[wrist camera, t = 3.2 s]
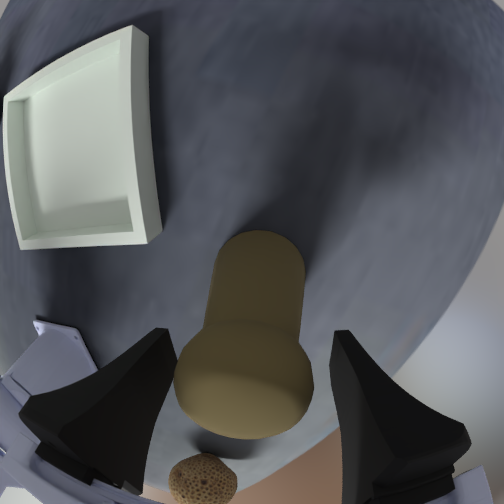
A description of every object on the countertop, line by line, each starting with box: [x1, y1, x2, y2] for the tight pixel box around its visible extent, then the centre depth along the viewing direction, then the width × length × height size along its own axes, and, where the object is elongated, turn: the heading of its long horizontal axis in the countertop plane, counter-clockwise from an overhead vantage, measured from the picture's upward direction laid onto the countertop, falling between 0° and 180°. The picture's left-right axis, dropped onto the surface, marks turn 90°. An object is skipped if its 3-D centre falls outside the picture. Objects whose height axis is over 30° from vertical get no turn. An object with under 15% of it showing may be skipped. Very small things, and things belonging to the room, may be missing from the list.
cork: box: [173, 230, 314, 439], centre depth 13 cm, size 6×6×11 cm
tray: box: [3, 25, 163, 250], centre depth 14 cm, size 14×14×2 cm
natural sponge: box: [168, 453, 237, 504], centre depth 24 cm, size 9×9×10 cm
